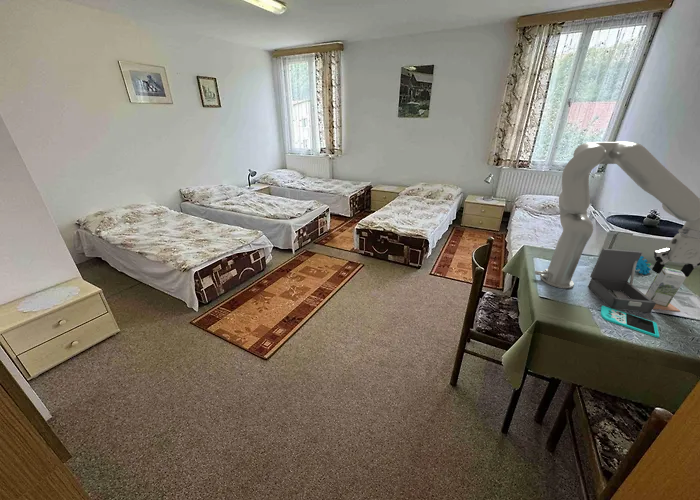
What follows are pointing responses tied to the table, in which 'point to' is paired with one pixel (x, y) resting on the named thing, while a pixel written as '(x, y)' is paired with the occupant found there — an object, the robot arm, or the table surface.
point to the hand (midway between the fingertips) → (669, 273)
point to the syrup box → (665, 286)
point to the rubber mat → (669, 307)
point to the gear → (643, 266)
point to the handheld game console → (630, 321)
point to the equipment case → (619, 280)
